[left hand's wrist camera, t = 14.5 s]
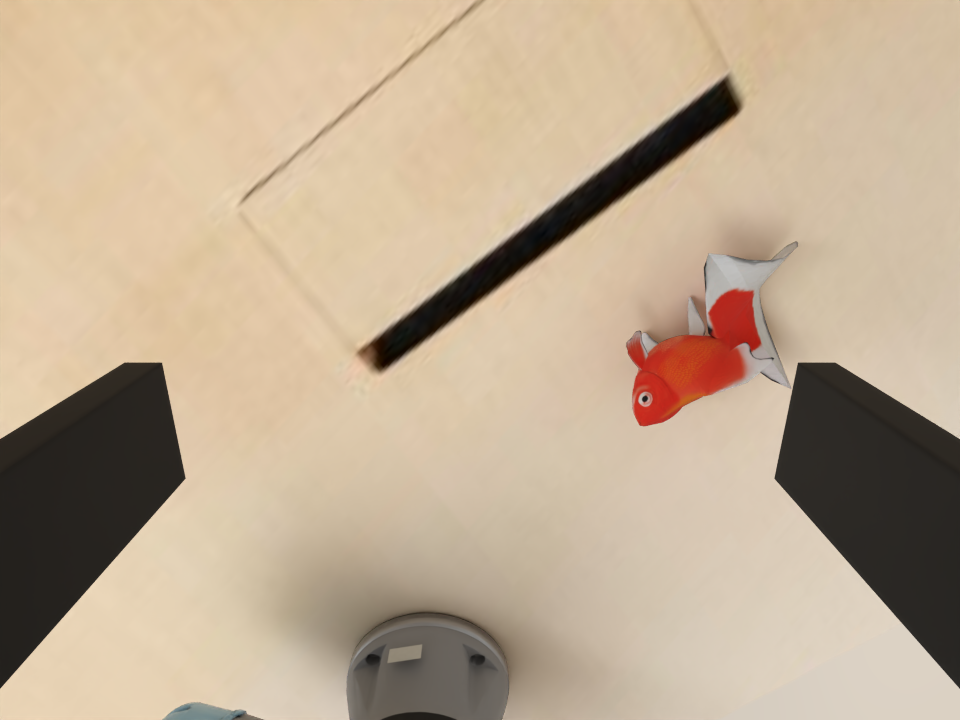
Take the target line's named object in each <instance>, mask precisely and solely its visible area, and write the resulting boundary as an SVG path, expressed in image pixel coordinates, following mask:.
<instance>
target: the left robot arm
mask: <svg viewBox="0 0 960 720" xmlns="http://www.w3.org/2000/svg"><path fill="white" fill-rule="evenodd" d="M185 479H186V478H185V474H184V469H183V464H182V459H181V454H180V449H179V444H178V439H177V434H176V429H175V425H174V420H173V415H172V410H171V405H170V400H169V395H168V390H167V385H166V380H165V375H164V371H163V366H162V363H123V364H122V365H120V366H119V367H117V368H115V369H114V370H112V371H110V372H109V373H107V374H106V375H104V376H102V377H101V378H99V379H97V380H96V381H94V382H93V383H91V384H89V385H88V386H86V387H84V388H83V389H81V390H80V391H78V392H76V393H75V394H73V395H71V396H70V397H68V398H66V399H65V400H63V401H62V402H60V403H58V404H57V405H55V406H53V407H52V408H50V409H49V410H47V411H45V412H44V413H42V414H40V415H39V416H37V417H36V418H34V419H32V420H31V421H29V422H27V423H26V424H24V425H22V426H21V427H19V428H18V429H16V430H14V431H13V432H11V433H9V434H8V435H6V436H5V437H3V438H1V439H0V688H1V687H2V686H3V685H4V684H5V683H6V681H7V680H8V679H9V678H10V677H11V676H12V675H13V673H14V672H15V671H16V670H17V669H18V668H19V667H20V666H21V664H22V663H23V662H24V661H25V660H26V659H27V658H28V656H29V655H30V654H31V653H32V652H33V651H34V650H35V649H36V647H37V646H38V645H39V644H40V643H41V642H42V641H43V639H44V638H45V637H46V636H47V635H48V634H49V633H50V632H51V630H52V629H53V628H54V627H55V626H56V625H57V624H58V622H59V621H60V620H61V619H62V618H63V617H64V616H65V615H66V613H67V612H68V611H69V610H70V609H71V608H72V607H73V605H74V604H75V603H76V602H77V601H78V600H79V599H80V598H81V596H82V595H83V594H84V593H85V592H86V591H87V590H88V588H89V587H90V586H91V585H92V584H93V583H94V582H95V581H96V579H97V578H98V577H99V576H100V575H101V574H102V573H103V571H104V570H105V569H106V568H107V567H108V566H109V565H110V564H111V562H112V561H113V560H114V559H115V558H116V557H117V556H118V554H119V553H120V552H121V551H122V550H123V549H124V548H125V547H126V545H127V544H128V543H129V542H130V541H131V540H132V539H133V537H134V536H135V535H136V534H137V533H138V532H139V531H140V530H141V528H142V527H143V526H144V525H145V524H146V523H147V522H148V520H149V519H150V518H151V517H152V516H153V515H154V514H155V513H156V511H157V510H158V509H159V508H160V507H161V506H162V505H163V503H164V502H165V501H166V500H167V499H168V498H169V497H170V496H171V494H172V493H173V492H174V491H175V490H176V489H177V488H178V486H179V485H180V484H181V483H182V482H183V481H184V480H185ZM774 479H775V480H776V481H777V482H778V483H779V484H780V485H781V486H782V488H783V489H784V490H785V491H786V492H787V493H788V494H789V496H790V497H791V498H792V499H793V500H794V501H795V502H796V503H797V505H798V506H799V507H800V508H801V509H802V510H803V511H804V513H805V514H806V515H807V516H808V517H809V518H810V519H811V520H812V522H813V523H814V524H815V525H816V526H817V527H818V528H819V530H820V531H821V532H822V533H823V534H824V535H825V536H826V537H827V539H828V540H829V541H830V542H831V543H832V544H833V545H834V547H835V548H836V549H837V550H838V551H839V552H840V553H841V554H842V556H843V557H844V558H845V559H846V560H847V561H848V562H849V564H850V565H851V566H852V567H853V568H854V569H855V570H856V571H857V573H858V574H859V575H860V576H861V577H862V578H863V579H864V581H865V582H866V583H867V584H868V585H869V586H870V587H871V588H872V590H873V591H874V592H875V593H876V594H877V595H878V596H879V598H880V599H881V600H882V601H883V602H884V603H885V604H886V605H887V607H888V608H889V609H890V610H891V611H892V612H893V613H894V615H895V616H896V617H897V618H898V619H899V620H900V621H901V622H902V624H903V625H904V626H905V627H906V628H907V629H908V630H909V632H910V633H911V634H912V635H913V636H914V637H915V638H916V639H917V641H918V642H919V643H920V644H921V645H922V646H923V647H924V649H925V650H926V651H927V652H928V653H929V654H930V655H931V656H932V658H933V659H934V660H935V661H936V662H937V663H938V664H939V666H940V667H941V668H942V669H943V670H944V671H945V672H946V673H947V675H948V676H949V677H950V678H951V679H952V680H953V681H954V683H955V684H956V685H957V686H958V687H959V688H960V439H959V438H957V437H955V436H954V435H952V434H951V433H949V432H947V431H946V430H944V429H942V428H941V427H939V426H938V425H936V424H934V423H933V422H931V421H929V420H928V419H926V418H924V417H923V416H921V415H920V414H918V413H916V412H915V411H913V410H911V409H910V408H908V407H907V406H905V405H903V404H902V403H900V402H898V401H897V400H895V399H894V398H892V397H890V396H889V395H887V394H885V393H884V392H882V391H880V390H879V389H877V388H876V387H874V386H872V385H871V384H869V383H867V382H866V381H864V380H863V379H861V378H859V377H858V376H856V375H854V374H853V373H851V372H850V371H848V370H846V369H845V368H843V367H841V366H840V365H838V364H837V363H798V366H797V371H796V375H795V380H794V385H793V390H792V395H791V400H790V405H789V410H788V415H787V420H786V425H785V429H784V434H783V439H782V444H781V449H780V454H779V459H778V464H777V469H776V474H775V478H774ZM508 693H509V680H508V667H507V662H506V659H505V656H504V654H503V652H502V650H501V649H500V647H499V646H498V644H497V643H496V642H495V641H494V640H493V639H492V637H491V636H489V635H488V634H487V633H486V632H485V631H483V630H482V629H480V628H479V627H477V626H475V625H474V624H472V623H470V622H467V621H465V620H462V619H460V618H456V617H453V616H449V615H443V614H435V613H418V614H410V615H405V616H401V617H397V618H394V619H392V620H389V621H387V622H385V623H383V624H381V625H379V626H377V627H376V628H374V629H373V630H372V631H370V632H369V633H368V634H367V635H366V636H365V637H364V638H363V639H362V640H361V641H360V643H359V644H358V646H357V647H356V649H355V651H354V653H353V656H352V659H351V663H350V667H349V671H348V676H347V701H348V710H349V718H350V720H502V718H503V714H504V711H505V708H506V704H507V699H508ZM163 720H263V719H260V718H257V717H254V716H251V715H248V714H247V713H246V711H244V710H235V711H231V710H227V709H223V708H219V707H215V706H211V705H207V704H203V703H195V702H194V703H188V704H185V705H182V706H180V707H178V708H176V709H175V710H173V711H172V712H171V713H169V714H168V715H167V716H166V717H165V718H164V719H163Z"/></svg>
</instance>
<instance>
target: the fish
mask: <svg viewBox="0 0 960 720" xmlns="http://www.w3.org/2000/svg"><path fill="white" fill-rule="evenodd" d="M797 247H798V242H797V241H795V242H794V243H792V244H790V245H788V246H786V247H785V248H784V249H782V250H781V251H780V252H779V253H778V254H777V255H776V256H775V257H774V258H773V259H771V260H768V261H762V260H746V259H741V258H737V257H733V256H728V255H719V254H708V257H707V260H706V263H705V266H704V276H705V290H706V314H707V324H708V333H709V334H710V335H711V336H704V335H705V325H704V323H703V321H702V319H701V317H700V315H699V313H698V311H697V309H696V307H695V305H694V302H693V300H692V298H691V297H689V298H688V324H689V335H681V336H676V337H673V338H670V339H667V340H665V341H663V342H661V343H657V342H656V341H654V340H653V339H652V338H651V337H650V336H649V335H648V334H647V333H643V334H642V335H641V331H637V332H635V333H634V335H633V337H632V338H631V339H630V340H629V341H628V342H627V345H626V347H627V349H628V355H629V356H630V358H631V359H632V361H633V362H634V363H635V364H636V366H637V367H638V368H639V370H638V373H637V376H636V378H635V383H634V388H633V394H632V408H633V412H634V415H635V417H636V419H637V421H638V423H639V425H640V426H648V425H652V424H657V423H662V422H664V421H666V420H668V419H670V418H671V417H673V416H674V415H675V414H676V413H677V412H678V411H679V410H680V409H681V408H682V407H683V406H685V405H687V404H689V403H691V402H693V401H695V400H697V399H699V398H701V397H702V396H707V395H712V394H715V393H718V392H721V391H724V390H727V389H730V388H733V387H736V386H739V385H741V384H744V383H747V382H748V381H750V380H751V379H752V378H754V377H755V376H756V375H758V374H759V373H762V374H763V375H765V376H766V377H767V378H769V379H770V380H772V381H774V382H777V383H779V384H781V385H784V386H786V387H788V388H790V389H791V387H790V384H789V381H788V379H787V376H786V374H785V371H784V369H783V366H782V364H781V361H780V358H779V356H778V353H777V351H776V348H775V346H774V343H773V340H772V338H771V335H770V333H769V330H768V327H767V324H766V321H765V317H764V314H763V311H762V308H761V302H760V294H759V290H760V287H761V286H762V284H763V283H764V282H765V281H766V280H767V279H768V277H769V276H770V275H771V274H772V273H773V272H774V271H775V270H776V269H777V268H778V267H779V266H780V264H781V263H782V262H783V261H784V260H785V259H786V258H787V257H788V256H789V255H790V254H791V253H792V252H793V251H794V250H795V249H796V248H797Z"/></svg>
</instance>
